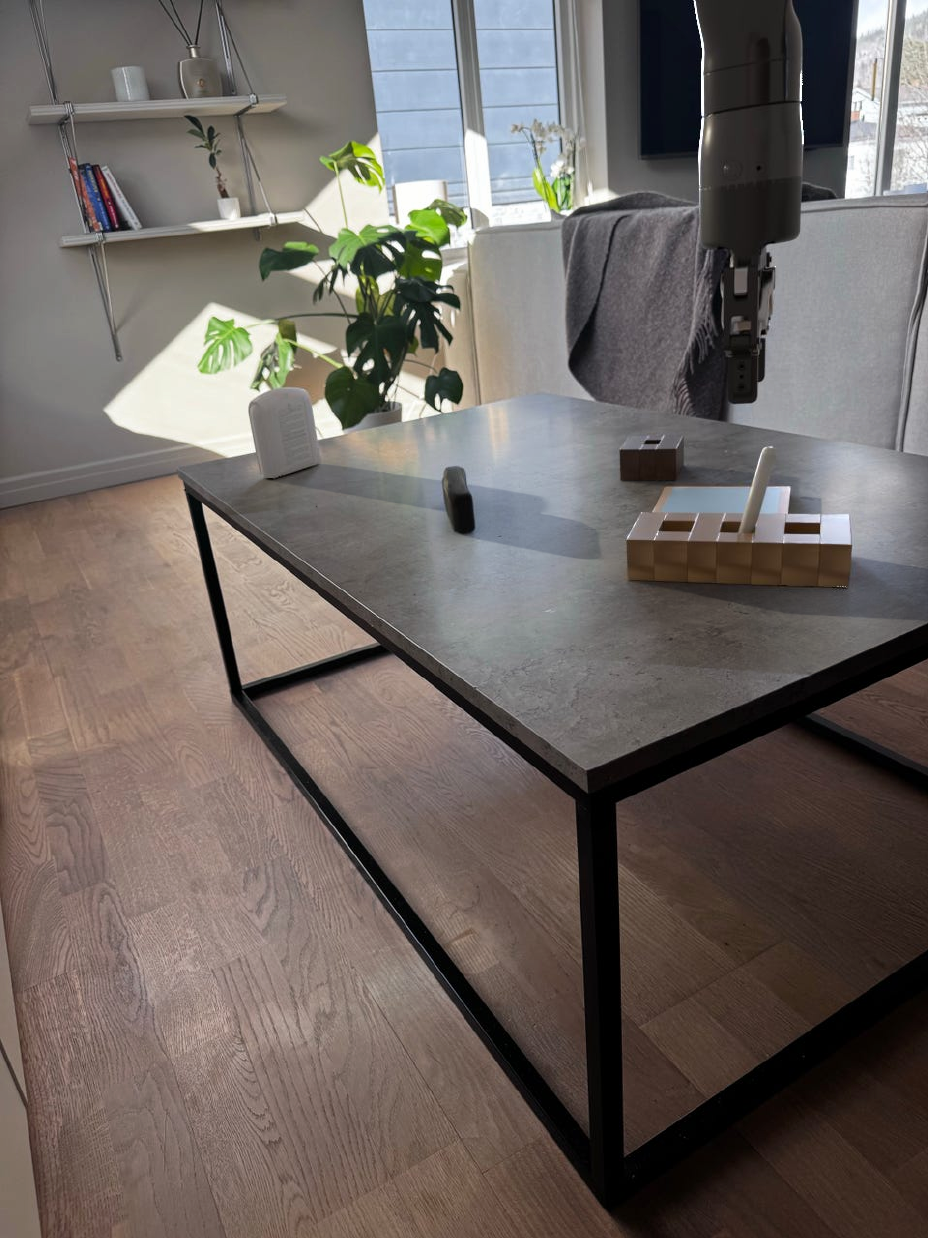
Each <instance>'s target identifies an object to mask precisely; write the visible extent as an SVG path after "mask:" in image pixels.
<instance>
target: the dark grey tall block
mask: <svg viewBox="0 0 928 1238" xmlns="http://www.w3.org/2000/svg"><path fill="white" fill-rule="evenodd" d="M442 475H443V476H442V478H441V487H442V488H441V489H442V496H443V503H444V507H445V510H446V514H447V518H448V520H449V523H450V526H451V528H452V530H453V531H454V532H457V533H469V532H473V531H474V530H475V529H476V519H475V511H474V499H473V494H472V493H471V492H470V490H469V487H468V484H467V483H468V482H467V474H466V471H465V469H464V467H462V466H459V465H452V466H451V465H450V466H447V467H445V468H444V469H443V474H442Z"/></svg>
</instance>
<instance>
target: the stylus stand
mask: <svg viewBox="0 0 928 1238" xmlns="http://www.w3.org/2000/svg"><path fill="white" fill-rule="evenodd" d="M618 452H619V479H620V481H677V479H678V477H679V475H680V474H681V472H682V470H683V467H684V465H685V435H684V434H666V435H663V434H661V435H659V434H658V435H656V434H655V435H629V436H628V438H627V439H626V440H625V442H624V443H623V444H622V445H621V447H620V448H619V451H618Z"/></svg>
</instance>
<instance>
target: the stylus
mask: <svg viewBox="0 0 928 1238" xmlns="http://www.w3.org/2000/svg"><path fill="white" fill-rule="evenodd" d="M777 455H778V453H777V449H776V448H775V447H773V446H766V447H763V448H762V450H761V452H760V456H759V459H758V462H757V466H756V470H755V473H754V476H753V480H752V483H751V486H750V487H751V490H750V494H749V497H748V501H747V504H746V508H745V511H744V515H743V518H742V522H741V525H740V529H739V532H738V533H754V530H755V527H756V523H757V520H758V516H759V513H760V510H761V506H762V503H763V499H764V496H765V493H766V489H767V487H769V483H770V480H771V475H772V472H773V469H774V465H775V462H776V458H777Z"/></svg>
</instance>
